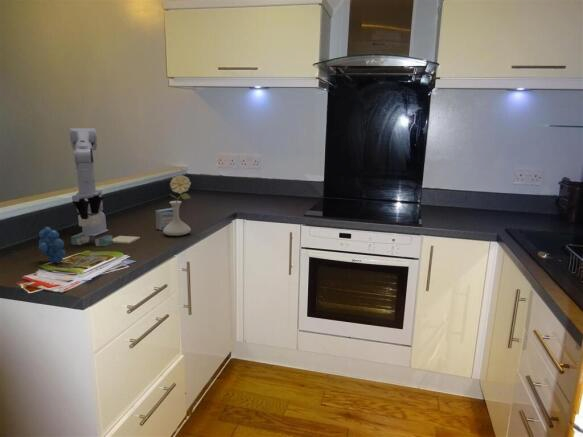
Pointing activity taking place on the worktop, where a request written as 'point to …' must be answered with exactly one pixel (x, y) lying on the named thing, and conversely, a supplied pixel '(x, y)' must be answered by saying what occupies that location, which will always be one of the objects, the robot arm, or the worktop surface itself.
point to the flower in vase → (176, 225)
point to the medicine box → (163, 218)
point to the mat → (125, 239)
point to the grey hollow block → (90, 220)
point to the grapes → (51, 245)
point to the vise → (91, 240)
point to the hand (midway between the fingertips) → (89, 217)
